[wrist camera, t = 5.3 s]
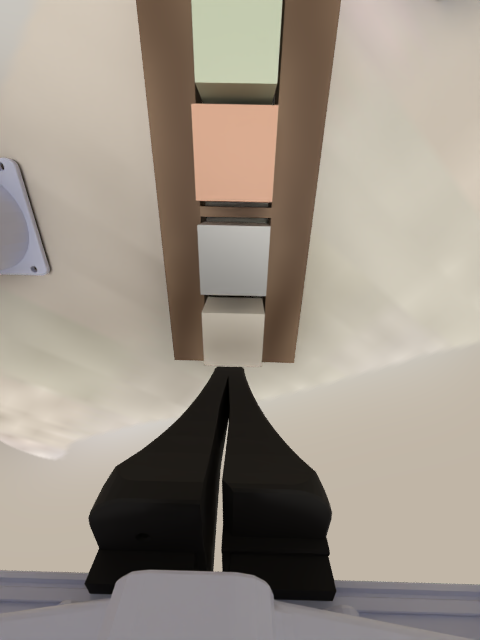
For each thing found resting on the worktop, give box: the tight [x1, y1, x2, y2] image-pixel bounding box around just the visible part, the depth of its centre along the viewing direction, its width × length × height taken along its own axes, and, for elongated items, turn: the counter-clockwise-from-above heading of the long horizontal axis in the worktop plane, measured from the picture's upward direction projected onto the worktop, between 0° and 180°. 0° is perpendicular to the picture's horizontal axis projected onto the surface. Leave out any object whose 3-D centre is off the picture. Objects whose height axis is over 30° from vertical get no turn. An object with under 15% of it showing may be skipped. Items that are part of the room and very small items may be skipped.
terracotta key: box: [191, 104, 279, 203], centre depth 14 cm, size 4×4×3 cm
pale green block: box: [191, 0, 282, 105], centre depth 13 cm, size 4×4×3 cm
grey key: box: [197, 222, 271, 296], centre depth 16 cm, size 4×4×3 cm
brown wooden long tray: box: [136, 0, 341, 363], centre depth 17 cm, size 10×23×2 cm, turn 179°
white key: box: [202, 297, 265, 367], centre depth 18 cm, size 4×4×3 cm
